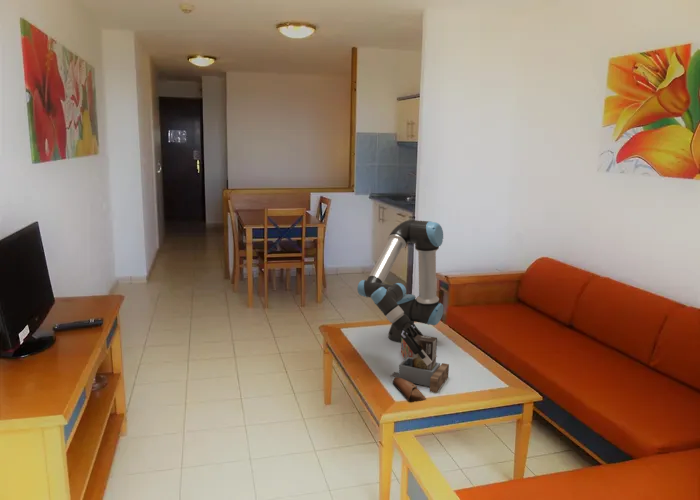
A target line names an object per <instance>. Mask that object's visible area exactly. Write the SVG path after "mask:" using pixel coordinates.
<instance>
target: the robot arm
mask: <svg viewBox="0 0 700 500" xmlns="http://www.w3.org/2000/svg"><path fill="white" fill-rule="evenodd" d="M443 239H444V231H443V227H442V226H441V224H440V223H438V222H435V221H429V220H428V221H427V220H416V219H415V220H414V219H408V220H405V221H403V222H401V223H399V224H398V225H396V226H395V227H394V228H393V229H392V230H391V232H390V234H389V235H388V237H387V242H386V245H385V246H384V249H383V250H382V252H381V254H380V256H379V258H378V259H377V261H376V263H375V264H374V266H373V268H372V270H371V272H370V273H369V275H368V277H367V278H366V279H361V280H360V281H359V282H358V284H357V293H358V295H359V296H361V297H365V298H370V299H371V300H372V301H373V302H374V305H376V306H377V308H378V309H379V310H380V311H381V313H383V315H384V316H385V318H386V319H387V320H388V321H389V323H391V325H390V328H389V330H388V335H387V336H388V337H387V338H388V339H390V340H391V341H393V342H398V343H401V338H402V339H403V340H404V341H405V342H406V344H407V345H408V346H409V348H410V349H411V350H412V352H413V353H414V354H415V355H416V354H418V355H419V356H420V357H421V359H422V360H423V361H424V362H425V364H426V365H427V366H428V365H429V364H430V363H432V361H431V359H430V358H429V357H428V356H427V354H426V353H425V352H424V351H423V350H421V348H420V347H419V345H418V344H417V342H416V341H415V340H414V339H415V337H416V336H417V335H423V336H425V335H424V334H423V333H422V332H421V331H420V330H419V328H418V327H417V326H416V324H415V323H419V324H424V325H428V326H429V325H430V326H436V325H438V324H439V323H440V321H441V319H442V317H443V314H444V305H443V303H441V302H440V298H439V296H437V261H436V260H437V255H436V254H437V251H438V250H439V247H441V246H442V245H443V242H444V240H443ZM407 244H414V249H415V250H416V251H417V252H418V253H417V254H418V296H417V297H416V295H414V294H411V293H410V294H409V293H408V294H407V288H406V286H405V285H404V284H403V283H401V282H395V283H393V284H389V283H384V282H385V281H386V279H387V277H388V274H389V273H390V272H391V269H392V267H393V265H394V264H395V262H396V260H397V258H398V256H399V255H400V252H401V251H402V249H404V248H405V247H406V246H407ZM437 357H438V355H437V354H436V358H437Z"/></svg>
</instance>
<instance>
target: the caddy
mask: <svg viewBox="0 0 700 500" xmlns="http://www.w3.org/2000/svg"><path fill="white" fill-rule="evenodd" d="M440 365H441V362H437V361H436V366H435V367H434V368H433V369H432V370H431V371H430V370H425V369H420V368H415V367H412V358H410V357H407V358H406V359H405V360H404V359H403V361H402V362H401V363H400V364H398V373H399V378H402V379H405V380H407V381H410V382H412V383H413V384H414V385H421V386H425V387H429V388H430V378H431V376H432V375H433V374H434V373H435V372H436V370H437V369H438V368H439V367H440Z"/></svg>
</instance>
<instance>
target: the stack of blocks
mask: <svg viewBox="0 0 700 500" xmlns="http://www.w3.org/2000/svg"><path fill="white" fill-rule="evenodd" d="M400 353H401V355H402V358H403V361H404V360H405V359H406V358H407V357H410V358H413V352H412V350H411V349H410V348H409V346H408V345H407V344H406V342H405V341H404V340H403V339H402V338H401V342H400Z"/></svg>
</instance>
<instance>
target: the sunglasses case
mask: <svg viewBox="0 0 700 500" xmlns="http://www.w3.org/2000/svg"><path fill="white" fill-rule="evenodd" d="M393 378H394V379H393V380H392V384H393V385H394V386H395V387H396V388H397V389H398V390H399V391H400V392H401V393H402V395H403V396H404V397H405V398H406V399H407V400H408V401H409V402H410V403H414V401H416V402H421V401H427V400H426V399H427V397H426V396H425V395H424V394H423V393H422V392H421V390H420V389H419V388H418V387H417V384H415V383H412V382H410V381H407V380H405V379H402V378H399V377H393Z"/></svg>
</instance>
